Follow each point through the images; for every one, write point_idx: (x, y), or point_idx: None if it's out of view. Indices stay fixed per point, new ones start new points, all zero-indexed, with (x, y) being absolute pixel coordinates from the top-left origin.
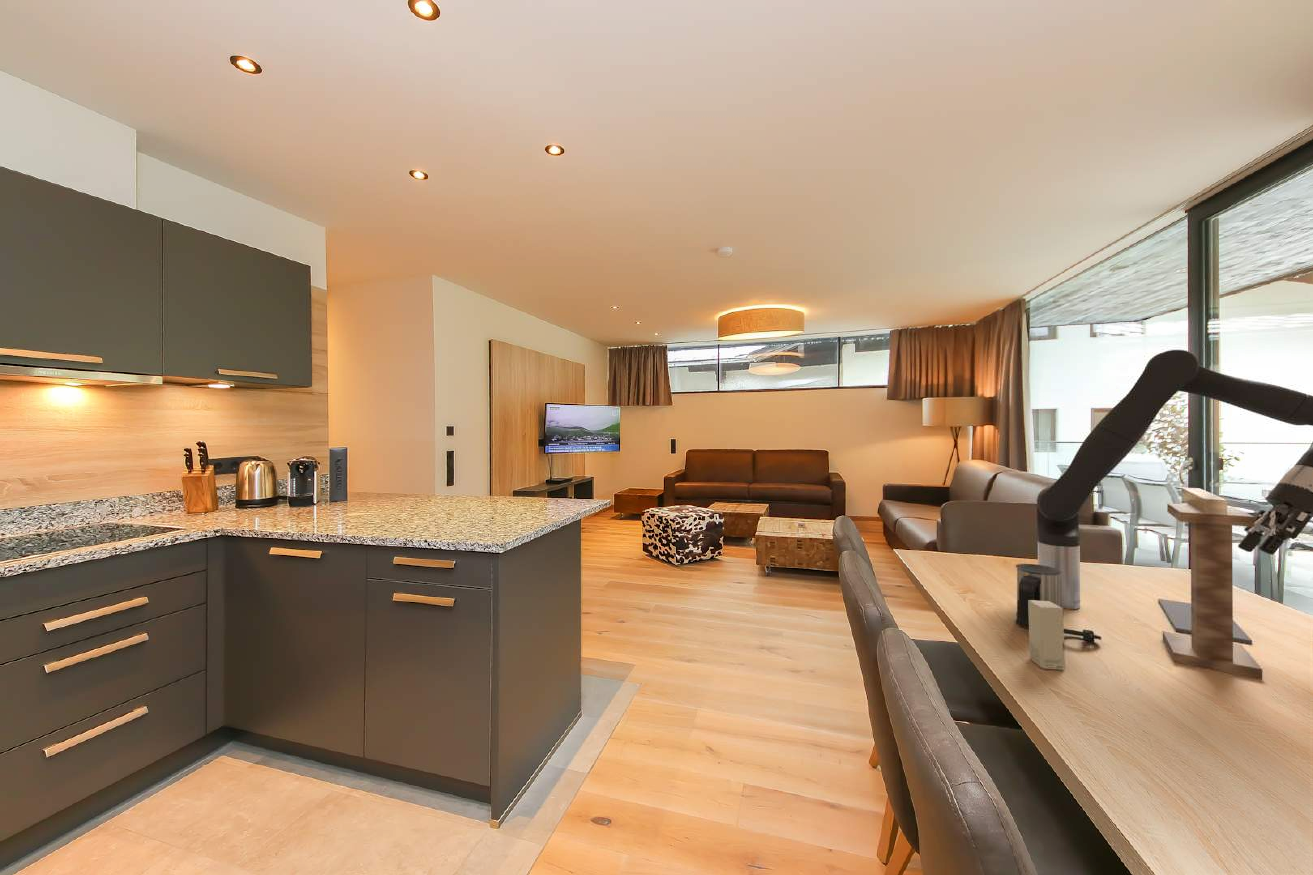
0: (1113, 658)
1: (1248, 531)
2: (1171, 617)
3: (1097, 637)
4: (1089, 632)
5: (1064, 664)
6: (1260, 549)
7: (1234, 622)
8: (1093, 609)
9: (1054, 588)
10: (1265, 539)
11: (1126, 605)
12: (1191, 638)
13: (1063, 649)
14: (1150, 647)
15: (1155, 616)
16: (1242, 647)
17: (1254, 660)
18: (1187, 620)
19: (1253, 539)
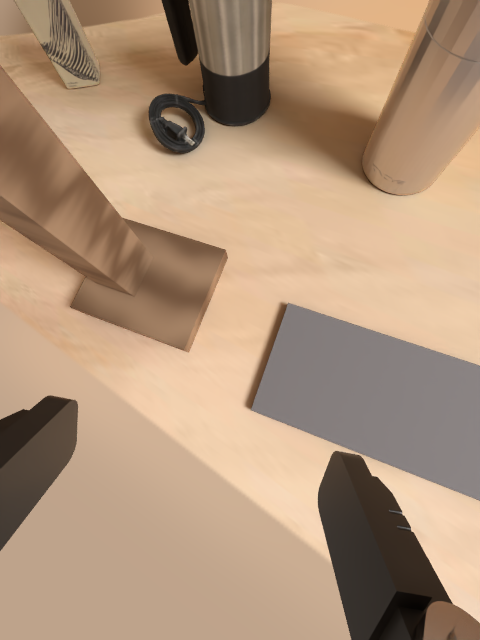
0: (122, 155)
1: (452, 633)
2: (366, 332)
3: (155, 135)
4: (165, 126)
5: (63, 80)
6: (57, 397)
7: (382, 459)
8: (385, 214)
9: (193, 13)
10: (7, 460)
11: (455, 292)
12: (146, 249)
13: (47, 55)
14: (181, 221)
15: (384, 315)
16: (167, 341)
17: (106, 320)
18: (355, 355)
19: (357, 582)
